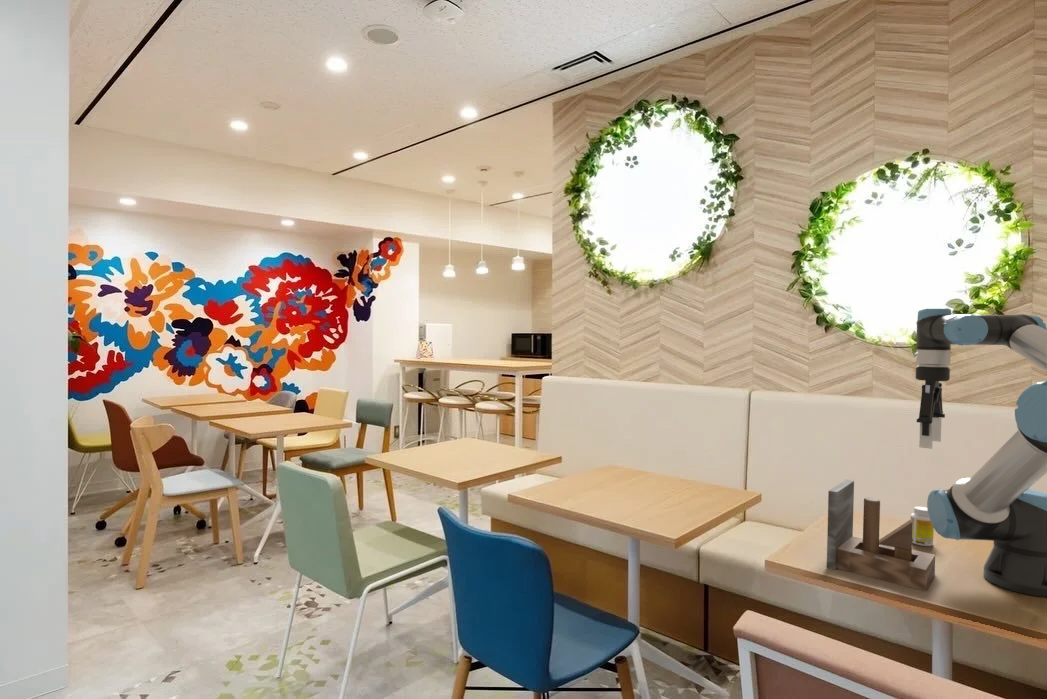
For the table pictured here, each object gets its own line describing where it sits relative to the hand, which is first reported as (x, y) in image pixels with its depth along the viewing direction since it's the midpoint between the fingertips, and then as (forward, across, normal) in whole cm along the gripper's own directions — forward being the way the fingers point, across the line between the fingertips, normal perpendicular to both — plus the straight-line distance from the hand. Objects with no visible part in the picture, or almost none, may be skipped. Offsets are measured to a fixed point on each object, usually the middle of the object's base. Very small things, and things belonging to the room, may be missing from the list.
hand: (930, 444), depth 157 cm
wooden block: (+31, +19, -6) cm, 37 cm away
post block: (+31, +19, -6) cm, 37 cm away
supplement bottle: (+31, -11, -3) cm, 33 cm away
